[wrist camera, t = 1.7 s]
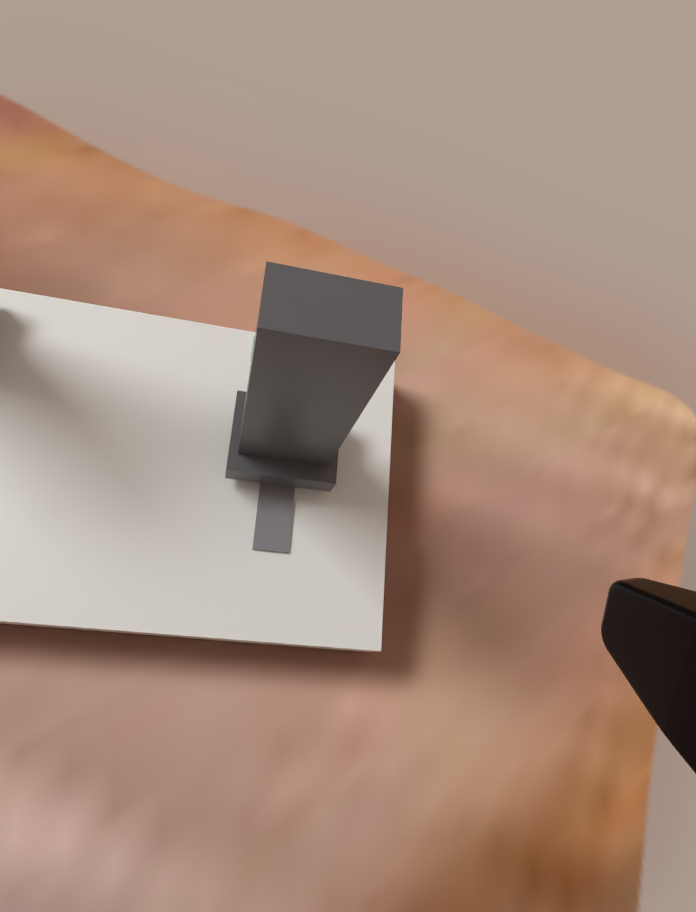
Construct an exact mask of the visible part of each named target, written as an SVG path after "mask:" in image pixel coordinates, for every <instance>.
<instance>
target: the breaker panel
mask: <svg viewBox="0 0 696 912" xmlns="http://www.w3.org/2000/svg"><path fill="white" fill-rule="evenodd" d="M255 334H256V332H250V331H244V330H238V329H233V328H227V327H221V326H215V325H209V324H204V323H198V322H192V321H186V320H180V319H175V318H169V317H163V316H157V315H151V314H146V313H140V312H134V311H128V310H123V309H117V308H111V307H105V306H99V305H94V304H88V303H82V302H76V301H70V300H65V299H59V298H53V297H47V296H42V295H36V294H30V293H24V292H18V291H13V290H7V289H1V288H0V623H3V624H16V625H28V626H41V627H54V628H67V629H79V630H92V631H105V632H118V633H130V634H143V635H156V636H168V637H181V638H194V639H207V640H219V641H232V642H245V643H258V644H270V645H283V646H296V647H309V648H321V649H334V650H347V651H359V652H376V651H381V643H382V622H383V601H384V580H385V558H386V537H387V516H388V495H389V474H390V453H391V432H392V410H393V389H394V368H395V361H394V363H393V364H392V366H391V368H390V369H389V371H388V372H387V374H386V375H385V377H384V379H383V380H382V382H381V383H380V385H379V387H378V388H377V390H376V391H375V393H374V394H373V396H372V398H371V399H370V401H369V402H368V404H367V405H366V407H365V409H364V410H363V412H362V413H361V415H360V417H359V418H358V420H357V421H356V423H355V424H354V426H353V428H352V429H351V431H350V432H349V434H348V436H347V437H346V439H345V440H344V442H343V443H342V445H341V447H340V448H339V452H338V465H337V478H336V485H335V486H334V487H333V489H332V490H331V491H330V492H329V491H321V490H313V489H305V488H297V487H290V486H282V485H274V484H266V483H258V482H250V481H242V480H235V479H227V478H225V474H226V466H227V459H228V452H229V445H230V438H231V431H232V424H233V417H234V410H235V403H236V396H237V390H238V391H244V392H247V385H248V379H249V373H250V366H251V360H252V353H253V347H254V340H255Z"/></svg>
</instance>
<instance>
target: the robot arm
mask: <svg viewBox="0 0 696 912" xmlns="http://www.w3.org/2000/svg"><path fill="white" fill-rule="evenodd" d="M601 633H602V639H603V642H604V644H605V646H606V648H607V650H608V652H609V653H610V655H611V656H612V658H613V659H614V661H615V662H616V664H617V665H618V667H619V668H620V670H621V671H622V673H623V674H624V676H625V677H626V679H627V680H628V682H629V683H630V685H631V686H632V688H633V689H634V691H635V692H636V694H637V695H638V697H639V698H640V700H641V701H642V703H643V704H644V706H645V707H646V709H647V710H648V712H649V713H650V715H651V716H652V718H653V719H654V720H655V722H656V723H657V725H658V726H659V728H660V729H661V730H662V732H663V733H664V734H665V736H666V737H667V738H668V740H669V741H670V742H671V743H672V745H673V746H674V747H675V748H676V750H677V751H678V752H679V754H680V755H681V756H682V757H683V758H684V760H685V761H686V762H687V763H688V764H689V766H690V767H691V768H692V770H694V772H695V773H696V592H695V591H692V590H688V589H684V588H680V587H676V586H672V585H668V584H664V583H660V582H656V581H653V580H649V579H645V578H632V579H625V580H619V581H616V582H614V583H613V584H612V585H611V587H610V589H609V593H608V597H607V602H606V607H605V611H604V616H603V621H602V626H601Z"/></svg>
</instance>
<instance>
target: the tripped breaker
mask: <svg viewBox="0 0 696 912" xmlns="http://www.w3.org/2000/svg"><path fill="white" fill-rule="evenodd" d="M402 297H403V288H400V287H395V286H390V285H384V284H379V283H374V282H369V281H364V280H359V279H354V278H349V277H343V276H338V275H333V274H328V273H323V272H318V271H313V270H307V269H302V268H297V267H292V266H287V265H282V264H277V263H272V262H266V269H265V275H264V282H263V288H262V295H261V301H260V308H259V314H258V321H257V327H256V334H255V340H254V347H253V353H252V360H251V366H250V373H249V379H248V385H247V392H244V391H238V390H237V396H236V403H235V410H234V417H233V424H232V431H231V438H230V445H229V452H228V459H227V466H226V474H225V478H227V479H235V480H242V481H250V482H258V483H266V484H274V485H282V486H290V487H297V488H305V489H313V490H321V491H329V492H330V491H331V490H332V489H333V487H334V486H335V485H336V478H337V465H338V452H339V448H340V447H341V445H342V443H343V442H344V440H345V439H346V437H347V436H348V434H349V432H350V431H351V429H352V428H353V426H354V424H355V423H356V421H357V420H358V418H359V417H360V415H361V413H362V412H363V410H364V409H365V407H366V405H367V404H368V402H369V401H370V399H371V398H372V396H373V394H374V393H375V391H376V390H377V388H378V387H379V385H380V383H381V382H382V380H383V379H384V377H385V375H386V374H387V372H388V371H389V369H390V368H391V366H392V364H393V363H394V361H395V360H396V358H397V356H398V355H399V353H400V343H401V320H402Z"/></svg>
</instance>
